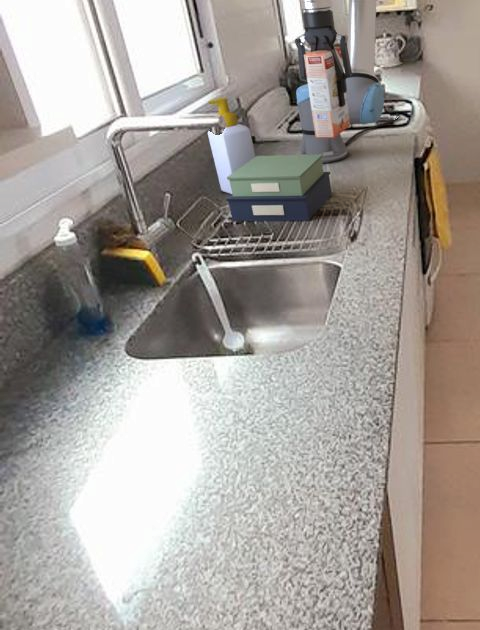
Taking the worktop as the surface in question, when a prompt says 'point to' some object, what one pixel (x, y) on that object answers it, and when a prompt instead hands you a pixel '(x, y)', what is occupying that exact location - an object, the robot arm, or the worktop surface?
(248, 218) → the box stack
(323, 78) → the cracker box
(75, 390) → the worktop surface
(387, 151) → the worktop surface
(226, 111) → the soap bottle
